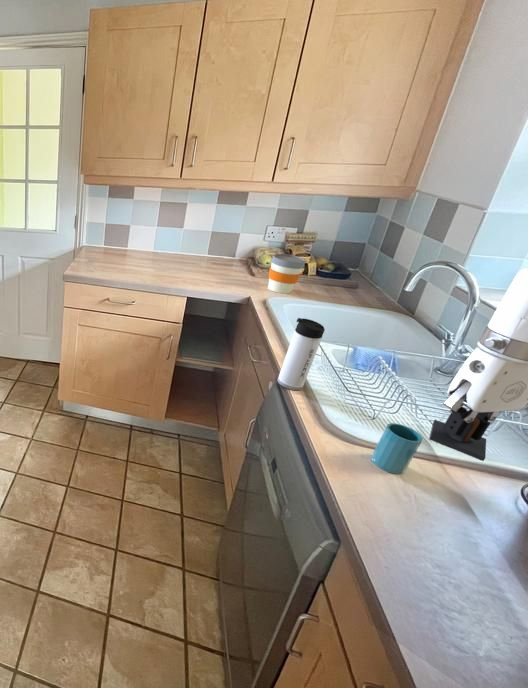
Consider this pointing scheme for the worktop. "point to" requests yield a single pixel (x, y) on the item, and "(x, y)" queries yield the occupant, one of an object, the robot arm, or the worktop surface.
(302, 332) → the travel mug
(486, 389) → the robot arm
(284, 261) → the reusable coffee cup
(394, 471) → the cup
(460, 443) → the dark grey flat slab
